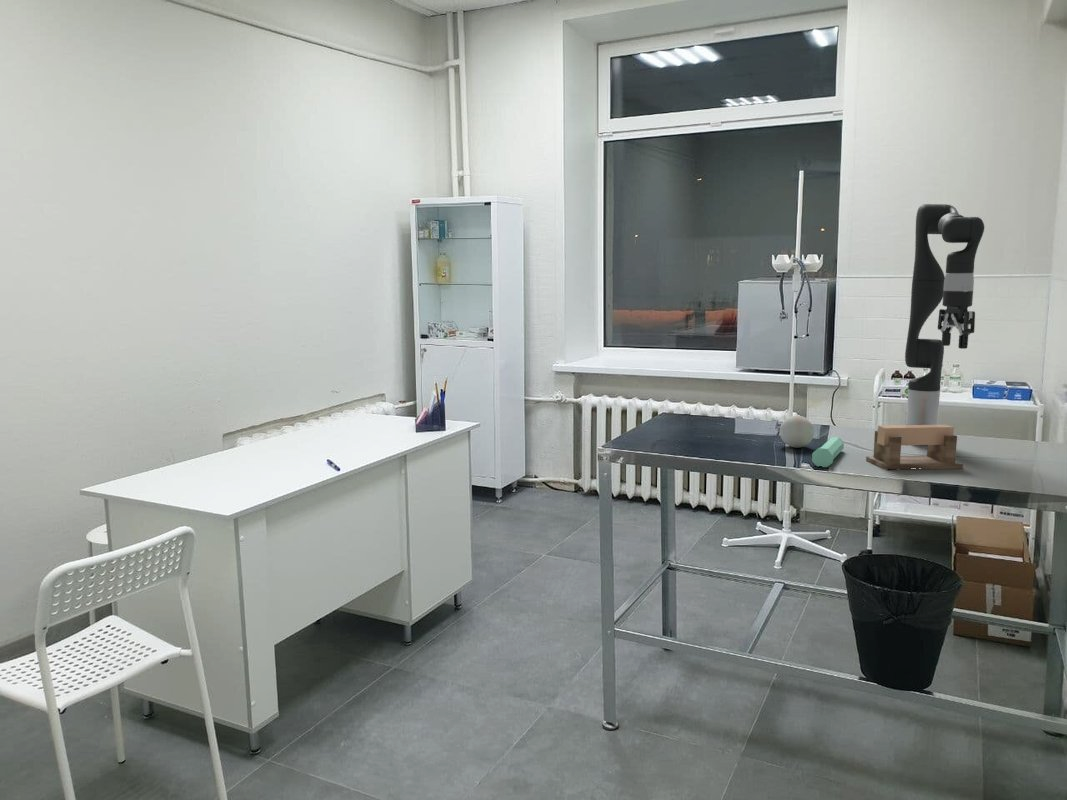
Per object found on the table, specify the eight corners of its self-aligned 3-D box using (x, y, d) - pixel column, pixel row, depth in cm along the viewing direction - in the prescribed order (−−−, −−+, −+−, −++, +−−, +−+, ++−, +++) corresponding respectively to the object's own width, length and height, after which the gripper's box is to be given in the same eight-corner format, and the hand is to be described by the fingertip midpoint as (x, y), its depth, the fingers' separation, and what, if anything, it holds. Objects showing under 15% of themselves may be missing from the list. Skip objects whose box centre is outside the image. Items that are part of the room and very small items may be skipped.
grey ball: (815, 451, 256) (816, 419, 254) (780, 449, 258) (782, 417, 256) (811, 444, 266) (812, 413, 264) (777, 443, 268) (779, 412, 266)
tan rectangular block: (877, 442, 238) (878, 425, 237) (944, 441, 240) (945, 424, 239) (883, 445, 234) (884, 428, 234) (952, 444, 236) (953, 427, 235)
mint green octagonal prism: (831, 430, 257) (817, 444, 235) (850, 439, 255) (837, 453, 233) (823, 447, 259) (807, 462, 237) (841, 456, 257) (827, 472, 235)
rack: (866, 460, 243) (867, 430, 242) (938, 459, 244) (941, 428, 243) (886, 470, 231) (888, 438, 230) (962, 468, 233) (965, 436, 231)
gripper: (931, 289, 242) (927, 345, 244) (960, 290, 228) (955, 349, 230) (956, 288, 242) (952, 344, 245) (986, 290, 228) (981, 349, 231)
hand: (954, 347), depth 238 cm, fingers open, 8 cm apart
